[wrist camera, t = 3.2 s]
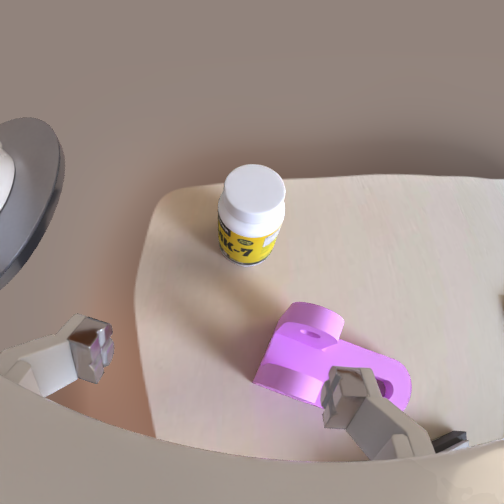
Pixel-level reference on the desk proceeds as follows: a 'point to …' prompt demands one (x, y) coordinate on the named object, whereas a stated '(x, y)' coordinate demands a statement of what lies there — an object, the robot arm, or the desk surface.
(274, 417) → the desk surface
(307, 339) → the bracket
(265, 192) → the supplement bottle
